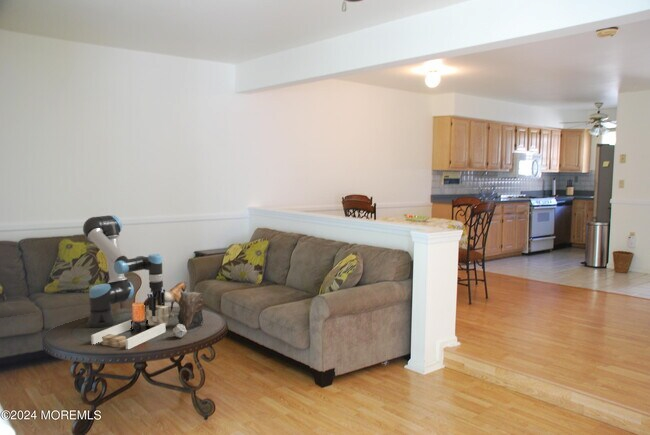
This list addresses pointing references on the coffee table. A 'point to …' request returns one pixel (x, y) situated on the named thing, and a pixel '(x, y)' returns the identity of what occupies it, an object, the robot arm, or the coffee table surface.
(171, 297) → the horse figurine
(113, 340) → the offcut stack
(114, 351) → the coffee table surface
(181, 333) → the game die
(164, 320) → the beige stone slab
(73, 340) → the coffee table surface
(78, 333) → the coffee table surface
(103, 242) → the robot arm
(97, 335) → the rack
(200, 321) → the brown rough tall block
